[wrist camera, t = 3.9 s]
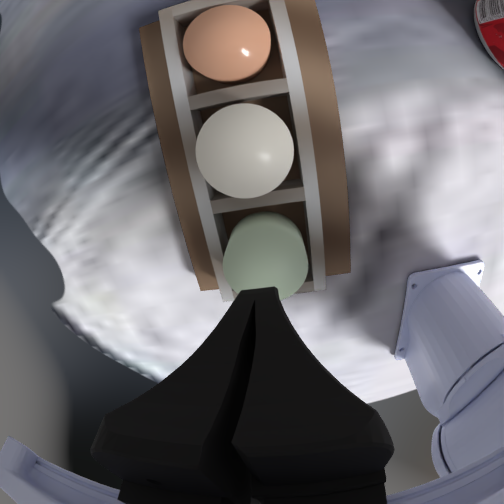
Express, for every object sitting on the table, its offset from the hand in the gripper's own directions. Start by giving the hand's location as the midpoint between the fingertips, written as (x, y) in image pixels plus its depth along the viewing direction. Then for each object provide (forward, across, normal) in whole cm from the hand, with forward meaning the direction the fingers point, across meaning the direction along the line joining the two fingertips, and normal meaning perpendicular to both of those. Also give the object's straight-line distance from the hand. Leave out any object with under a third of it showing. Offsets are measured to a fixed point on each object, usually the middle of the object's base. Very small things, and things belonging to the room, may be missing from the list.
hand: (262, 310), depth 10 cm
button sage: (+6, 0, 0) cm, 6 cm away
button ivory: (+6, 0, -5) cm, 8 cm away
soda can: (+9, -21, -14) cm, 27 cm away
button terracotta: (+7, 0, -11) cm, 13 cm away
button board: (+9, 0, -5) cm, 10 cm away
